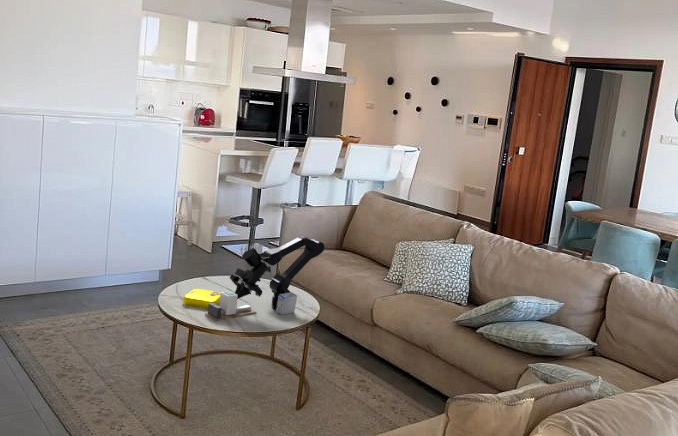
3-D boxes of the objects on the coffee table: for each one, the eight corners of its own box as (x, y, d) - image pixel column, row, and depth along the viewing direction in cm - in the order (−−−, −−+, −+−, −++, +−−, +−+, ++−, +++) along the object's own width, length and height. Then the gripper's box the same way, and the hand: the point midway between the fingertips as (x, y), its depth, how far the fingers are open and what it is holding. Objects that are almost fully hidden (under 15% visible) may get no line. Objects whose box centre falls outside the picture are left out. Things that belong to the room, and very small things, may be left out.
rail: (244, 307, 315) (245, 297, 314) (253, 311, 310) (254, 302, 309) (207, 313, 301) (208, 303, 300) (216, 318, 296) (217, 308, 295)
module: (228, 309, 308) (229, 290, 306) (235, 313, 303) (237, 294, 302) (218, 311, 304) (220, 291, 302) (226, 315, 300) (228, 295, 298)
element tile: (193, 296, 325) (194, 286, 324) (224, 301, 323) (225, 291, 322) (181, 305, 310) (182, 295, 310) (213, 311, 308) (214, 300, 308)
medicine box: (288, 309, 321) (291, 291, 319) (294, 312, 318) (297, 295, 316) (275, 311, 315) (278, 294, 313) (282, 315, 312) (285, 297, 310)
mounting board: (245, 308, 316) (245, 306, 316) (256, 313, 310) (256, 311, 310) (204, 315, 301) (205, 313, 300) (215, 320, 295) (215, 319, 295)
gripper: (234, 256, 312) (212, 282, 306) (259, 267, 299) (236, 294, 293) (247, 271, 319) (225, 297, 313) (272, 283, 306) (249, 310, 300)
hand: (233, 299), depth 305 cm, fingers closed, pressing on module
